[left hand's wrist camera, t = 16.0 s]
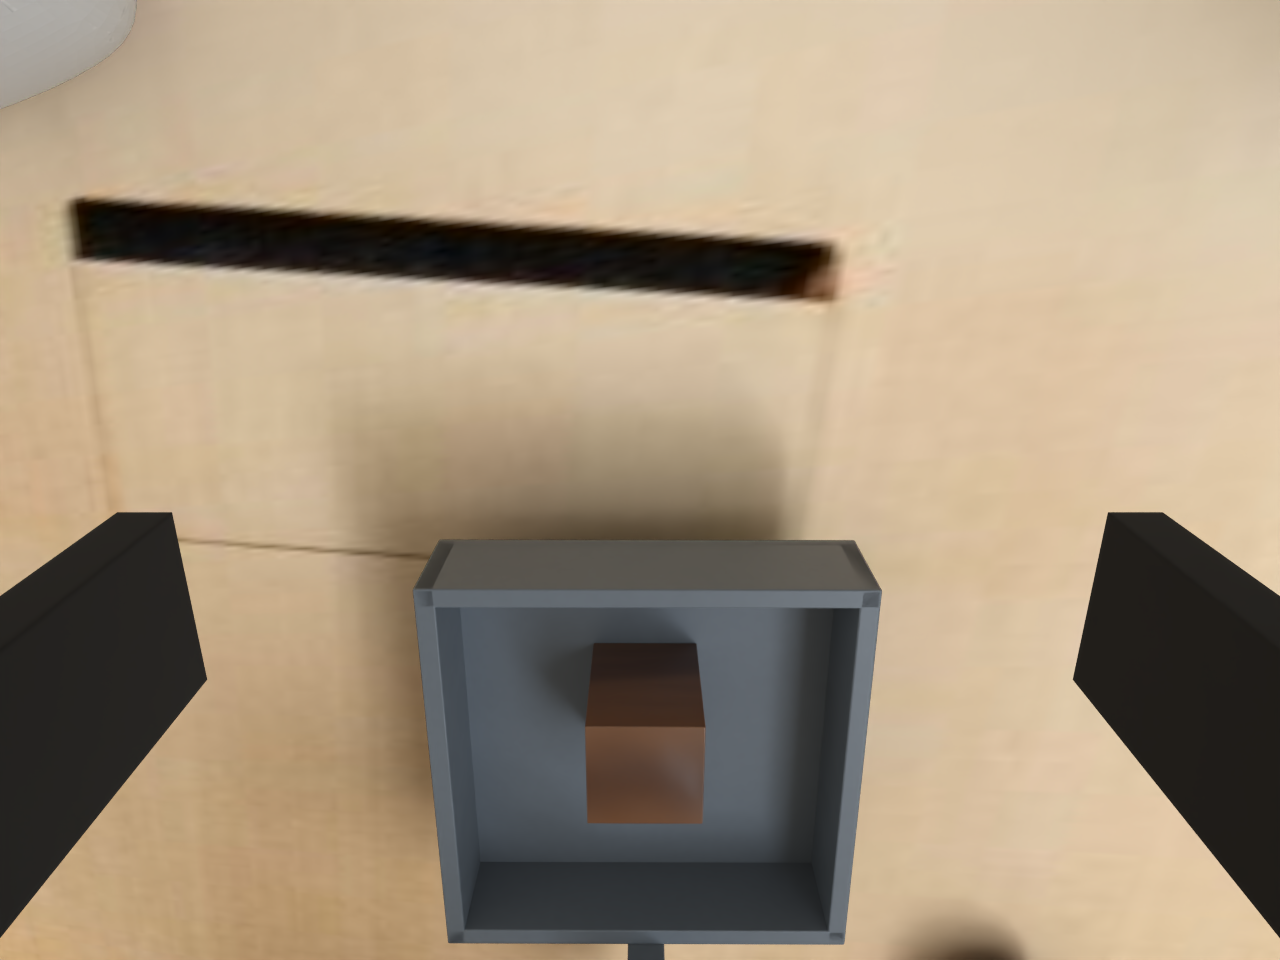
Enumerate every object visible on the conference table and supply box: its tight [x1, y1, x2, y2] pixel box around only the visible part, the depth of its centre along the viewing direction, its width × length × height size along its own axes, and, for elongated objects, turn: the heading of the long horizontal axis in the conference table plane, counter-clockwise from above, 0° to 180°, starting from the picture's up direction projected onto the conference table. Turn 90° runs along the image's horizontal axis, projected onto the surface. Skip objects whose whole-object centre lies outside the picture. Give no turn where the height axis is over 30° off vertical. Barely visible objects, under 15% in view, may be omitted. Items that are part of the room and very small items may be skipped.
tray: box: [413, 540, 882, 960], centre depth 38 cm, size 31×18×10 cm, turn 0°
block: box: [585, 643, 706, 824], centre depth 36 cm, size 4×4×6 cm
